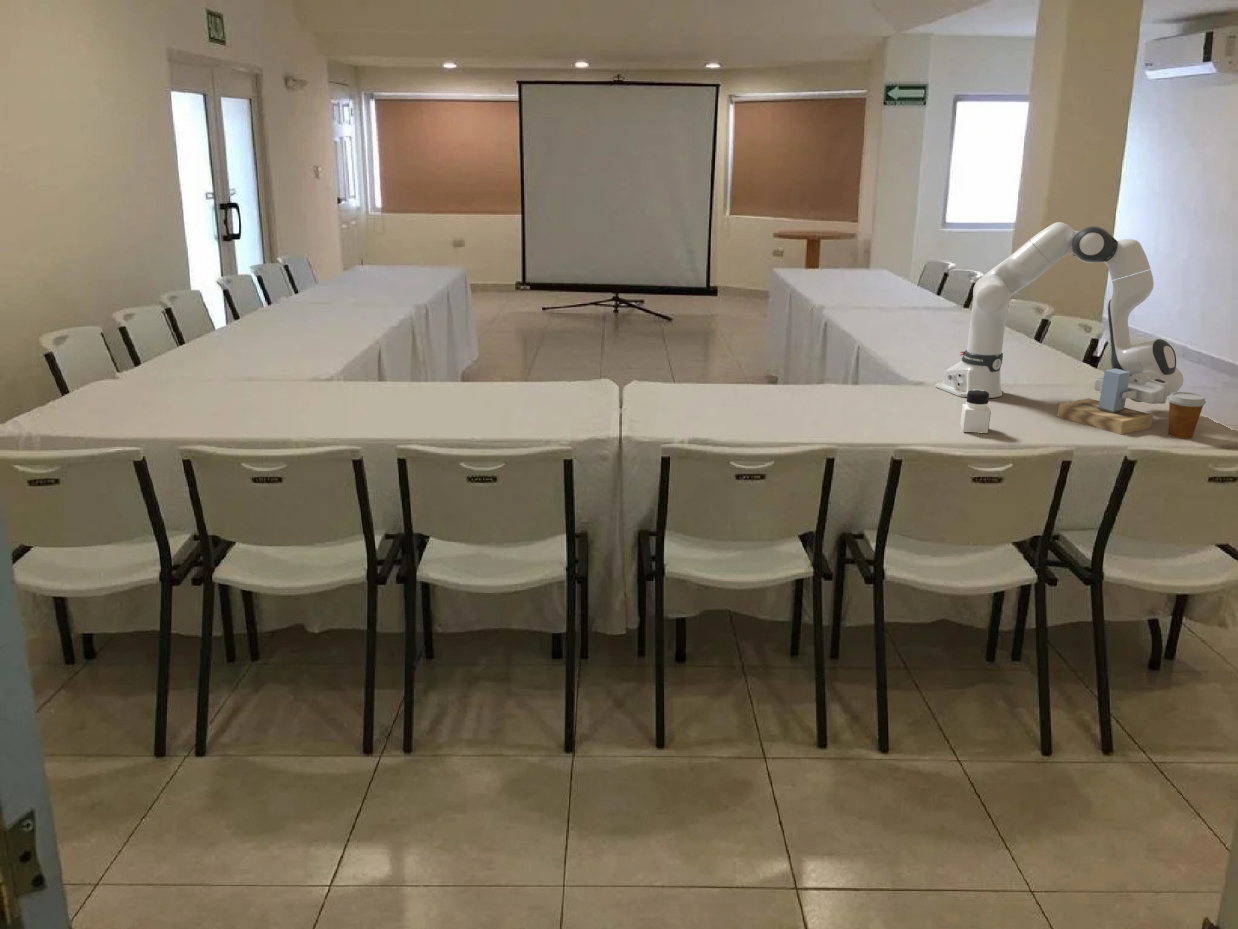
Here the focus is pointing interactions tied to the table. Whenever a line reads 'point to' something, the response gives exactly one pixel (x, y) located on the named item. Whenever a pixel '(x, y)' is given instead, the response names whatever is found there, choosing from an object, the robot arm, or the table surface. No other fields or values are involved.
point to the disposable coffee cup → (1184, 413)
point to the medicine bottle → (976, 412)
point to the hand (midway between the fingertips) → (1111, 392)
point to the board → (1105, 417)
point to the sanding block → (1113, 390)
